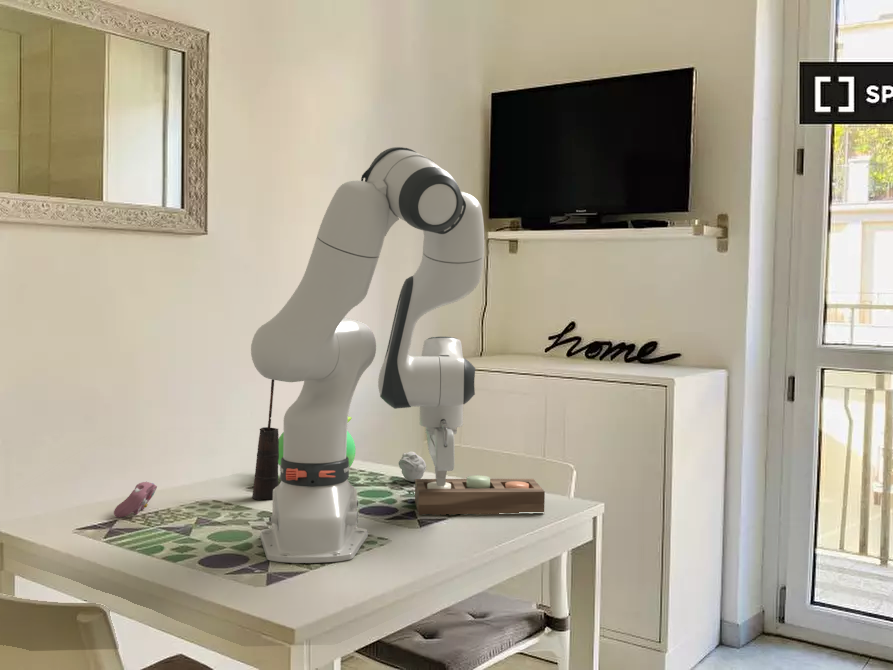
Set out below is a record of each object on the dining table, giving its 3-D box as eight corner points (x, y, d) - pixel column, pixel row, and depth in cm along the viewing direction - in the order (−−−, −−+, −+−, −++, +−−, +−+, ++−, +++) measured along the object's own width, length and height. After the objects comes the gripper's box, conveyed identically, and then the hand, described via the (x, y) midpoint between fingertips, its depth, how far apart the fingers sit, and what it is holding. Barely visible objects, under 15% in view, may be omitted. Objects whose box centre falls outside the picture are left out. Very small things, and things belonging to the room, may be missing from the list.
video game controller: (132, 526, 170) (149, 494, 170) (110, 515, 170) (127, 483, 170) (148, 513, 180) (164, 482, 180) (127, 503, 180) (143, 472, 179)
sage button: (491, 492, 181) (491, 480, 181) (467, 492, 180) (468, 480, 180) (488, 487, 186) (488, 475, 186) (465, 487, 185) (465, 475, 185)
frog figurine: (392, 482, 205) (392, 452, 205) (411, 477, 211) (411, 447, 210) (413, 486, 201) (413, 455, 201) (432, 481, 207) (432, 450, 207)
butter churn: (260, 506, 180) (261, 367, 179) (230, 499, 186) (231, 364, 185) (295, 498, 188) (296, 365, 186) (265, 491, 194) (266, 362, 192)
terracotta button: (530, 498, 182) (530, 486, 182) (507, 498, 181) (507, 486, 181) (526, 493, 187) (526, 481, 186) (503, 493, 186) (503, 481, 186)
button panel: (544, 514, 179) (544, 491, 178) (418, 514, 176) (418, 492, 176) (532, 499, 190) (533, 478, 190) (414, 500, 188) (415, 479, 188)
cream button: (451, 499, 180) (452, 486, 180) (428, 499, 180) (428, 486, 180) (449, 493, 185) (449, 481, 185) (426, 493, 185) (426, 481, 184)
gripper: (462, 424, 171) (461, 496, 172) (452, 409, 192) (451, 474, 192) (429, 424, 171) (428, 496, 171) (422, 409, 191) (421, 474, 192)
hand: (440, 484), depth 182 cm, fingers closed, pressing on cream button
